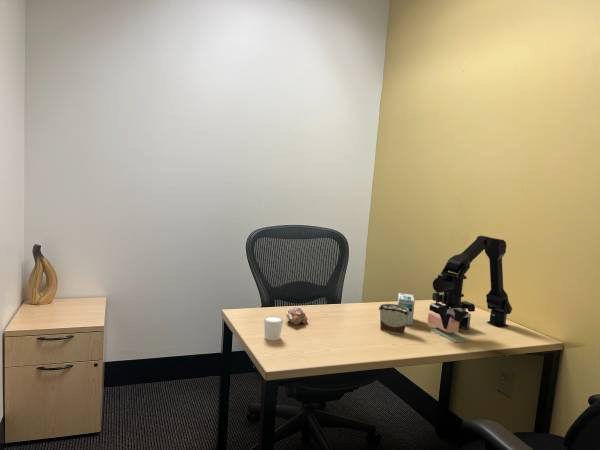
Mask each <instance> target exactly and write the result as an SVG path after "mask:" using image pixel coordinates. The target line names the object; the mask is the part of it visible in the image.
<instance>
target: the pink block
mask: <svg viewBox="0 0 600 450" xmlns="http://www.w3.org/2000/svg"><path fill="white" fill-rule="evenodd" d="M427 315H428V316H427V323H429V324H430V325H433V326H434V327H435V328H440V329H442V330H444V331H446V332H447V333H452V332H453V333H458V332H459V328H460V326H459V322H458V321H456V320H454V319H451V318H450V319H449V323H448V326H447V328H446V329H444V328H443V324H442V320H441V317H440V315H439V314H437V313H435V312H433V311H432V312H428V314H427Z"/></svg>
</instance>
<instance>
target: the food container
mask: <svg viewBox="0 0 600 450" xmlns="http://www.w3.org/2000/svg"><path fill="white" fill-rule="evenodd" d="M378 311H379V316H380V317H379V319H380V320H379V321H380V322H379V323H380V324H379V325H380V328H379V329H380V330H381V331H385V332H389V333H394V334H397V335H403V336H404V335H405V330H406V326H407V325H406V322H407V317H408V314H409V309H408V308H406V307H404V306H401V305H398V304H396V303H395V304H394V303H383V304H380V305H379V307H378ZM409 316H410V314H409Z"/></svg>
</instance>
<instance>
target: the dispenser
mask: <svg viewBox="0 0 600 450" xmlns="http://www.w3.org/2000/svg"><path fill="white" fill-rule="evenodd" d="M449 314H451V316H450V318H451V319H455V313H454V310H449ZM471 317H472V314H471V313H470V312H469V313H468V314H467V315H466V316H465V317H464V318H463V320H462V321H461V323H460V324H459V328H460V327H461V328H462V329H465V330H468V331H469V330H470V327H471V326H470V325H471V324H470V323H471Z"/></svg>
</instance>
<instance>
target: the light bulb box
mask: <svg viewBox="0 0 600 450" xmlns="http://www.w3.org/2000/svg"><path fill="white" fill-rule="evenodd" d="M415 303H416V302H415V296H414V294H408V293H401V292H398V297H397V305H401V306H404V307H406V308H408V309H409V314H410V316H409V314H408V317H407V322H406V326H407V325H408V326H413V323H414V322H413V320H414V311H415Z"/></svg>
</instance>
